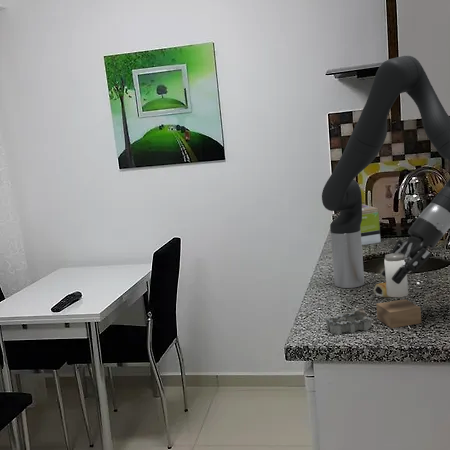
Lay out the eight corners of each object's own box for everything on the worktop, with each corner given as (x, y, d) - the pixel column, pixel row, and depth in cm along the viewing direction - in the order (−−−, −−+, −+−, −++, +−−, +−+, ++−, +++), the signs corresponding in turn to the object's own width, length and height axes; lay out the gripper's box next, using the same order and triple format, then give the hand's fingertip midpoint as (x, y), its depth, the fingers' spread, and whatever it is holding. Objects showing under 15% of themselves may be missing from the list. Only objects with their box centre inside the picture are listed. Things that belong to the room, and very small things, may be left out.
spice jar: (383, 293, 149) (380, 255, 148) (401, 289, 150) (399, 251, 149) (393, 298, 144) (390, 258, 143) (412, 294, 145) (409, 255, 144)
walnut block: (377, 318, 152) (376, 303, 151) (406, 313, 153) (405, 299, 152) (391, 328, 144) (390, 312, 143) (421, 323, 145) (420, 307, 145)
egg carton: (365, 322, 151) (364, 306, 151) (374, 331, 144) (373, 315, 143) (324, 326, 151) (323, 311, 150) (331, 336, 143) (330, 320, 143)
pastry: (398, 289, 176) (398, 276, 176) (412, 294, 170) (412, 281, 169) (371, 294, 173) (370, 282, 173) (384, 300, 167) (384, 287, 167)
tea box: (344, 240, 256) (342, 206, 253) (366, 237, 257) (364, 203, 255) (358, 245, 241) (356, 210, 239) (381, 242, 243) (379, 207, 240)
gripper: (407, 213, 153) (367, 264, 153) (435, 219, 139) (391, 276, 139) (427, 230, 154) (387, 281, 154) (457, 238, 140) (414, 294, 140)
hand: (389, 278), depth 146 cm, fingers closed on spice jar, 5 cm apart
